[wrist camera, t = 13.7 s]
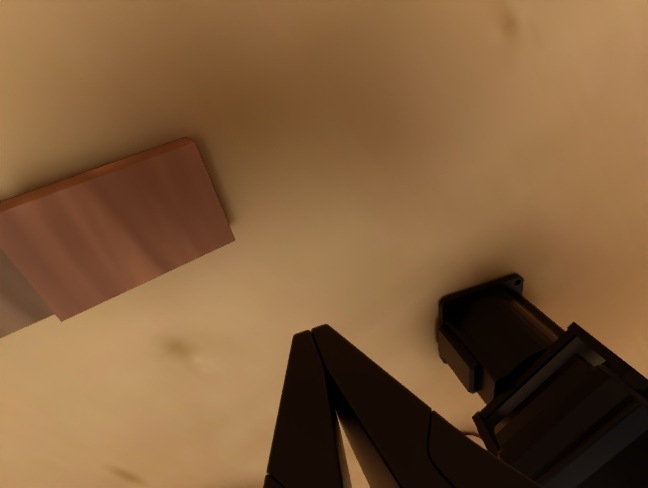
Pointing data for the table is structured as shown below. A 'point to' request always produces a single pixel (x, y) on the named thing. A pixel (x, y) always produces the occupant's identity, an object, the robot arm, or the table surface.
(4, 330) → the domino
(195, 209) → the domino
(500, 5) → the table surface
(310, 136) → the table surface
